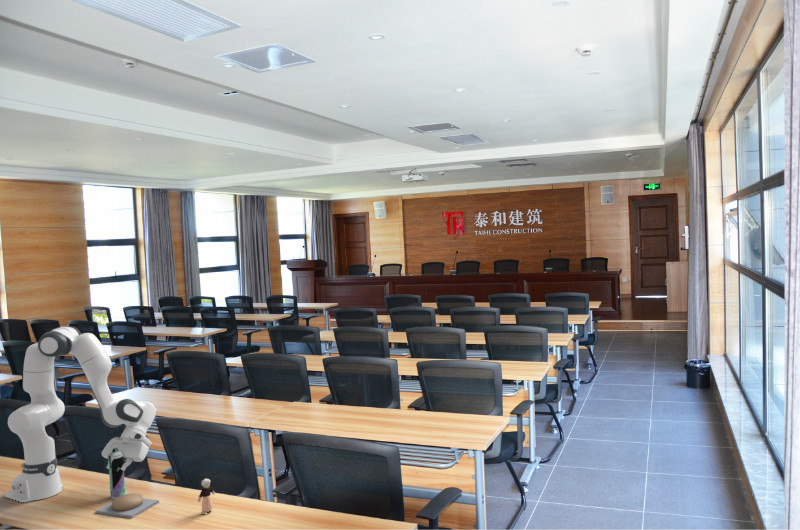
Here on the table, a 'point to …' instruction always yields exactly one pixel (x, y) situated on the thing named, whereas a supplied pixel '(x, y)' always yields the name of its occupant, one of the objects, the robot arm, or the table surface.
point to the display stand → (127, 505)
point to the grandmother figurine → (206, 496)
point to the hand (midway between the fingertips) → (115, 469)
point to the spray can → (116, 474)
